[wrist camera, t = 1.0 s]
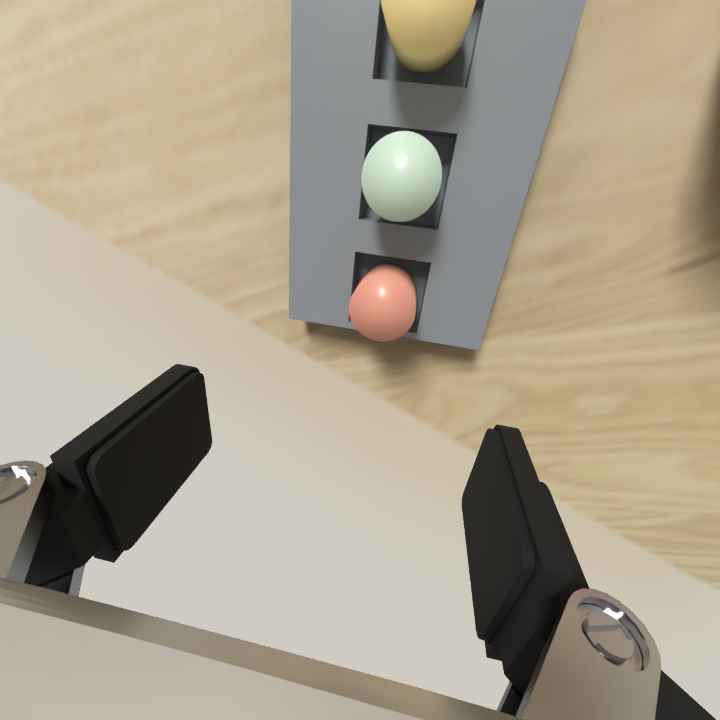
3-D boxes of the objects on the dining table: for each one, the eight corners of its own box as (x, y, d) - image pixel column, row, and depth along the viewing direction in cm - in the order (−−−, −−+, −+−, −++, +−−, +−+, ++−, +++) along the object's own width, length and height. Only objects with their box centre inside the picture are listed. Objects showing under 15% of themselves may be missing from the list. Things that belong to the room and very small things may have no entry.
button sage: (445, 144, 19) (450, 135, 16) (431, 219, 21) (432, 226, 18) (376, 136, 20) (366, 126, 16) (368, 211, 22) (357, 216, 18)
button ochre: (479, -31, 16) (495, -91, 13) (458, 77, 18) (467, 51, 14) (395, -36, 16) (387, -96, 13) (383, 70, 18) (374, 43, 15)
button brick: (422, 267, 23) (421, 283, 19) (411, 323, 25) (409, 346, 21) (363, 259, 23) (352, 272, 20) (356, 314, 25) (346, 335, 21)
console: (578, -26, 17) (605, -63, 15) (473, 333, 27) (478, 350, 24) (311, -42, 19) (292, -79, 16) (301, 305, 28) (289, 318, 25)
